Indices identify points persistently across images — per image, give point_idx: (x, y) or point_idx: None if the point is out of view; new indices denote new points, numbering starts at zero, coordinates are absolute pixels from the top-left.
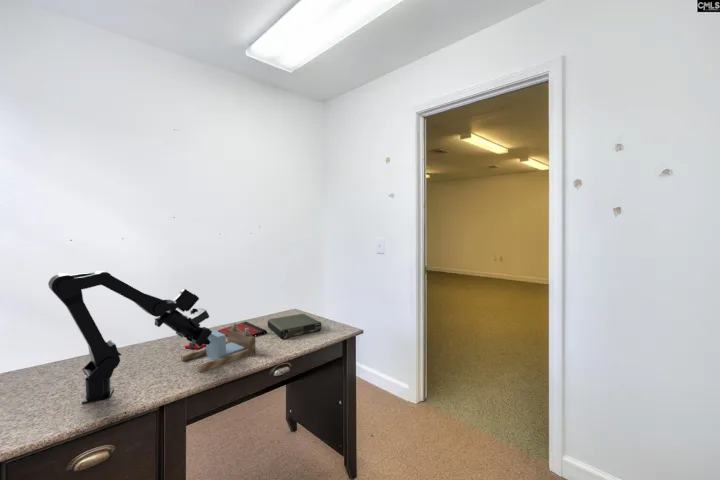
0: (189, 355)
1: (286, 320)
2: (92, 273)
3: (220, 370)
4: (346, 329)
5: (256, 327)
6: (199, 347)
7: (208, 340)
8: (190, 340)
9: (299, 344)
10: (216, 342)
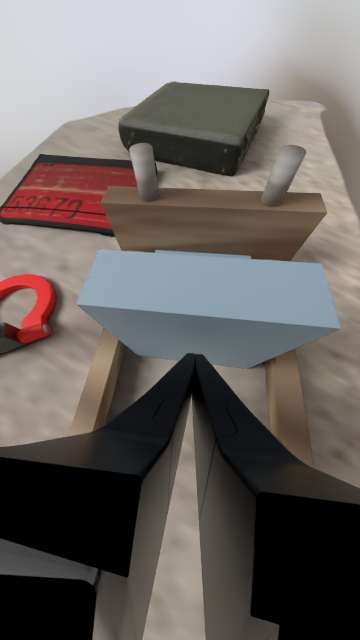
0: (96, 429)
1: (177, 108)
2: None
3: (343, 417)
4: (295, 106)
5: (110, 162)
6: (46, 328)
7: (214, 372)
8: (143, 631)
9: (304, 175)
10: (269, 343)
